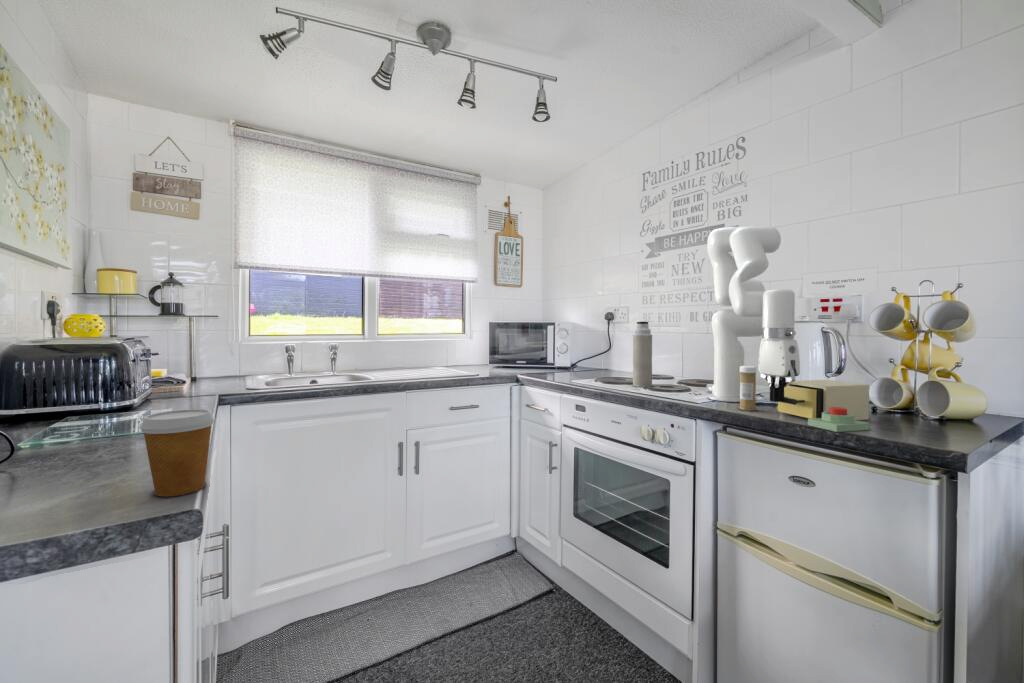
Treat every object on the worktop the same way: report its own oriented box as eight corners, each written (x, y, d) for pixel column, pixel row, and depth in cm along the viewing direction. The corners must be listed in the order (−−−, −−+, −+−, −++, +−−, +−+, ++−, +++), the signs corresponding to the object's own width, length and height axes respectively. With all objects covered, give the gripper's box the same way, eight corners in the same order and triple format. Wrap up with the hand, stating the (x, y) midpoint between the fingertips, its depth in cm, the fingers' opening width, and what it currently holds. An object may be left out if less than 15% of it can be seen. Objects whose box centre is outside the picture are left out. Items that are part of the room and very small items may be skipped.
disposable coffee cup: (229, 478, 75) (227, 408, 75) (190, 500, 66) (188, 419, 65) (171, 479, 75) (169, 408, 74) (124, 501, 65) (121, 420, 65)
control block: (807, 425, 115) (807, 411, 115) (838, 423, 117) (838, 409, 117) (836, 432, 107) (837, 417, 107) (869, 429, 110) (869, 415, 109)
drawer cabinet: (825, 422, 118) (826, 386, 118) (786, 413, 131) (786, 381, 130) (868, 419, 122) (869, 384, 122) (826, 411, 134) (826, 379, 134)
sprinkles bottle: (758, 410, 136) (759, 366, 136) (750, 411, 134) (751, 367, 133) (744, 407, 140) (744, 365, 139) (736, 409, 137) (736, 366, 137)
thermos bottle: (648, 384, 197) (649, 321, 197) (654, 387, 190) (654, 321, 189) (630, 384, 198) (631, 321, 197) (635, 387, 190) (635, 321, 189)
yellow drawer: (799, 420, 117) (799, 390, 117) (765, 412, 128) (765, 385, 128) (852, 416, 121) (853, 388, 121) (815, 409, 132) (815, 383, 132)
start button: (825, 414, 114) (825, 407, 114) (836, 413, 114) (837, 406, 114) (839, 417, 110) (839, 409, 110) (850, 416, 111) (850, 409, 111)
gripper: (813, 335, 115) (812, 405, 116) (768, 334, 130) (767, 396, 130) (789, 335, 114) (788, 406, 114) (746, 334, 128) (745, 397, 129)
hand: (776, 401), depth 122 cm, fingers closed
